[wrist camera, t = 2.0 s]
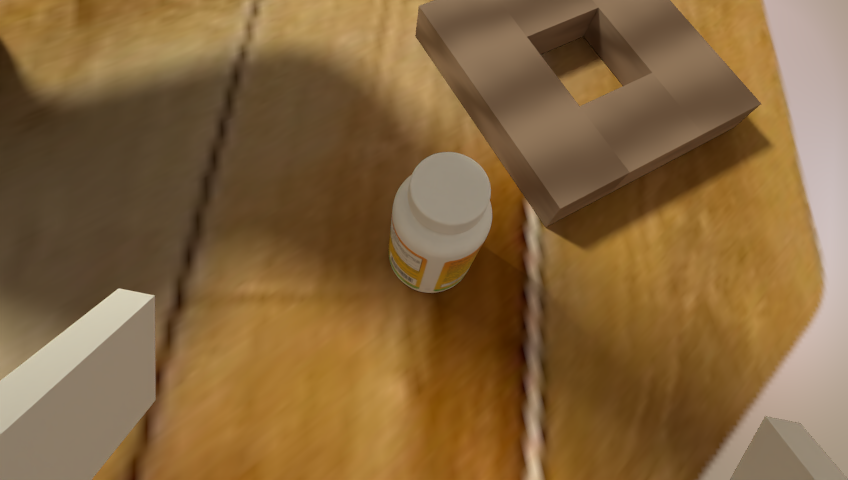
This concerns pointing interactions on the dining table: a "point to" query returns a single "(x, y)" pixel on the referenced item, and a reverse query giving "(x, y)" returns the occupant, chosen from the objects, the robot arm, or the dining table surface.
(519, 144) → the socket stand
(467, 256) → the supplement bottle
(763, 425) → the robot arm
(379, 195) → the dining table surface
